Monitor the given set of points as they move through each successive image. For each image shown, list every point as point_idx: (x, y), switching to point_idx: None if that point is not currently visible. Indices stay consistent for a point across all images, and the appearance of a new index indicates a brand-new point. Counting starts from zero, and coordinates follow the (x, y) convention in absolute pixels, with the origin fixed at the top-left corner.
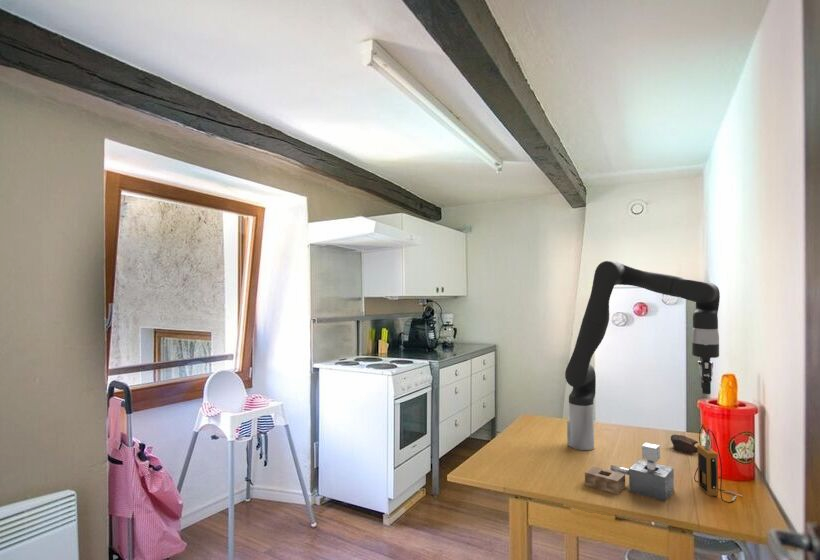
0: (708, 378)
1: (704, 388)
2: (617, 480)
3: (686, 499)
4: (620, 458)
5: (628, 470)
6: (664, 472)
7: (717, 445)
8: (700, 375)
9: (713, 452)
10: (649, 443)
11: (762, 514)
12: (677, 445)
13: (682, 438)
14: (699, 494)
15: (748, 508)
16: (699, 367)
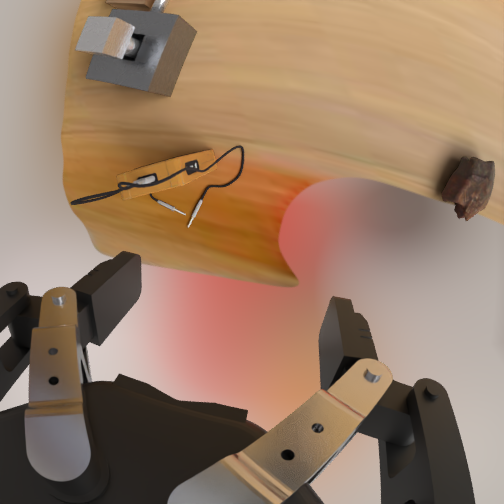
0: (11, 332)
1: (91, 274)
2: (108, 1)
3: (135, 117)
4: (348, 4)
5: (152, 6)
6: (110, 74)
7: (79, 203)
8: (366, 365)
9: (123, 191)
10: (109, 27)
11: (127, 235)
12: (463, 166)
13: (476, 184)
14: (169, 144)
15: (141, 220)
16: (70, 405)
